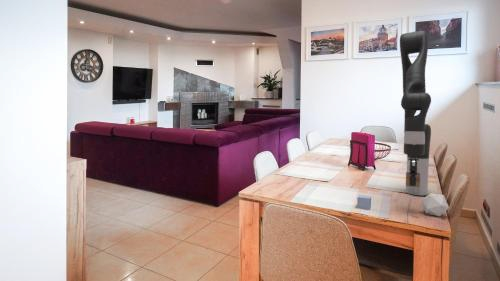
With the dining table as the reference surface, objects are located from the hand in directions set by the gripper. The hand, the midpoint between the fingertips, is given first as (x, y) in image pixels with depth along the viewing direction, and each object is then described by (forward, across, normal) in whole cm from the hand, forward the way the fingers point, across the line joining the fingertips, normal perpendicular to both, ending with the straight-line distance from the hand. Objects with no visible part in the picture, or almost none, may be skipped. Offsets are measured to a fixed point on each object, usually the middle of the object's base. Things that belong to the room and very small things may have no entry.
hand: (412, 184), depth 130 cm
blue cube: (+12, +3, -18) cm, 22 cm away
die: (+7, -1, +3) cm, 7 cm away
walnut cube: (+1, 0, 0) cm, 1 cm away
